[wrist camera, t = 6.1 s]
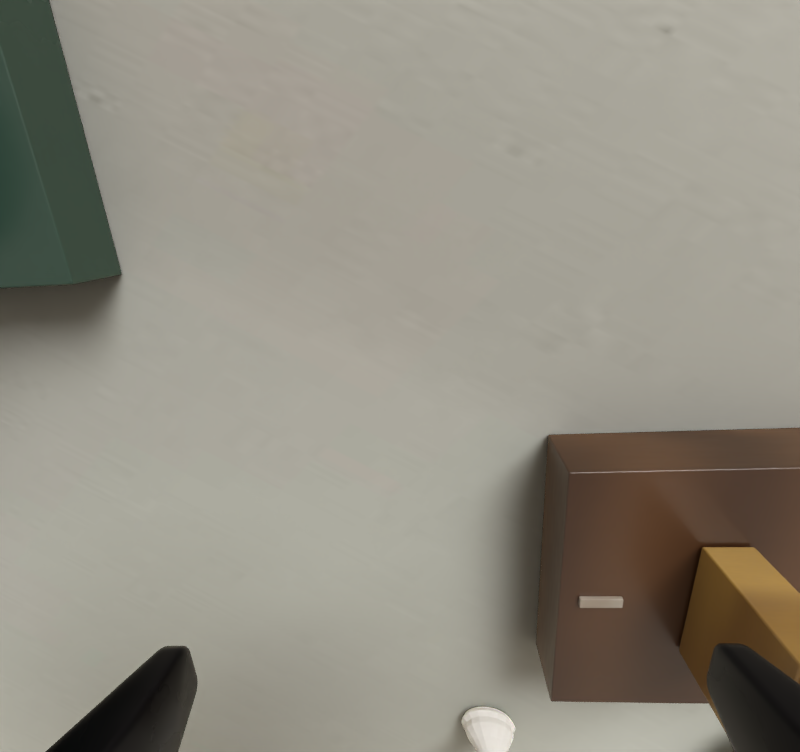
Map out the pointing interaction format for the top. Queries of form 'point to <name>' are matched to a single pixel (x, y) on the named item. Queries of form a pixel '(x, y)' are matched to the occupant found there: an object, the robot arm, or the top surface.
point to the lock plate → (651, 549)
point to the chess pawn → (488, 729)
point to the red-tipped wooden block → (740, 612)
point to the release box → (45, 162)
